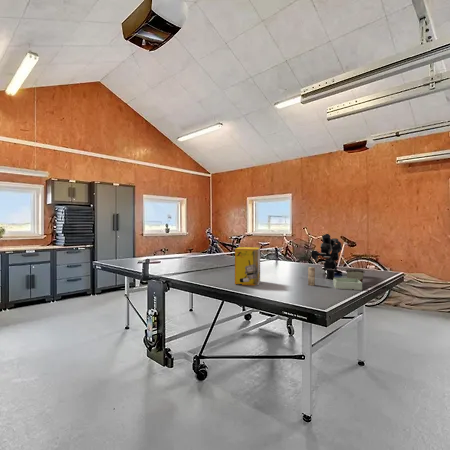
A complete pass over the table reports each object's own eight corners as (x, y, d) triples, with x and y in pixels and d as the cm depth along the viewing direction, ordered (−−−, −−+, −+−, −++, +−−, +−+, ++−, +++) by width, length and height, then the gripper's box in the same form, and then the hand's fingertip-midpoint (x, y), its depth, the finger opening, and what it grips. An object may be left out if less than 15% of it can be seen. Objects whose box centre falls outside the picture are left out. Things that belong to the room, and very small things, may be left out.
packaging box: (258, 285, 204) (258, 249, 204) (234, 284, 208) (234, 248, 208) (260, 281, 220) (260, 247, 220) (238, 280, 223) (238, 247, 223)
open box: (333, 283, 211) (333, 277, 211) (357, 285, 206) (357, 278, 206) (335, 288, 195) (335, 281, 195) (362, 290, 191) (362, 283, 191)
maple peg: (308, 284, 209) (308, 267, 209) (314, 284, 208) (314, 267, 208) (308, 285, 205) (308, 268, 205) (314, 285, 204) (314, 268, 204)
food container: (363, 282, 215) (363, 269, 215) (364, 284, 209) (364, 270, 209) (344, 281, 218) (344, 268, 218) (345, 283, 212) (345, 269, 212)
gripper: (312, 240, 223) (307, 251, 212) (339, 240, 213) (334, 253, 202) (314, 252, 228) (309, 264, 216) (340, 253, 218) (336, 266, 206)
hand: (322, 261), depth 210 cm, fingers open, 9 cm apart
